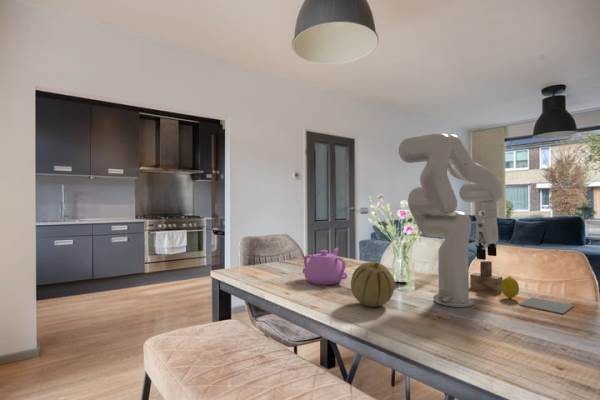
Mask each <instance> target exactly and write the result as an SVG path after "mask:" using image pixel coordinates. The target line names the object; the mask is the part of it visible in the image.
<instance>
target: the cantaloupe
mask: <svg viewBox="0 0 600 400" xmlns="http://www.w3.org/2000/svg"><path fill="white" fill-rule="evenodd" d="M393 276H394V275H393V274H392V273H391V271H390V270H389V269H388V268H387V266H385V265H383V264H381V263H379V262H377V261H376V262H375V261H372V262H371V261H369V262H364V263H362V264H360V265H359V266H358V267H357V268H355V270H354V271H353V273H352V275H351V280H350V289H351V293H352V295H353V297H354V298H355V299H356V300H357V301H358V303H361V304H362V305H364V306H367V307H369V308H370V307H371V308H372V307H373V308H376V307H377V308H378V307H381V306H384V305H385V304H386V303H388V302H389V301H390V300H391V298H392V296H393V293H394V289H395V281H394V277H393Z"/></svg>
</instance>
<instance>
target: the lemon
mask: <svg viewBox="0 0 600 400" xmlns="http://www.w3.org/2000/svg"><path fill="white" fill-rule="evenodd" d="M501 290H502V291H501V293H502V294H503V295H504V296H505V297H507V298H508V299H513V298H515V297H516V296H517V295H519V292H520V286H519V283H518V281H517V279H515V278H513V277H512V276H511V275H509V276H508V277H505V278H502V283H501Z"/></svg>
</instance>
